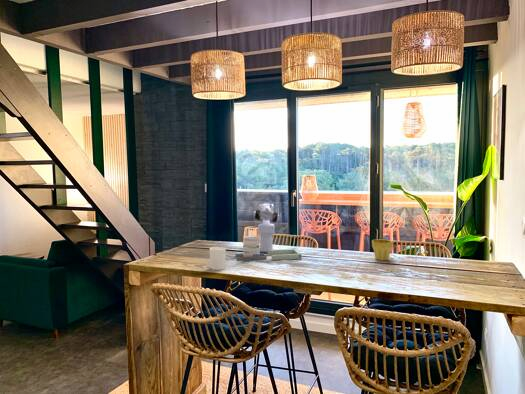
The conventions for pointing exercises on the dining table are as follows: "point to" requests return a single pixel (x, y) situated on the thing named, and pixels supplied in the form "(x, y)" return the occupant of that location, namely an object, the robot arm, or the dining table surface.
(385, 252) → the plant pot
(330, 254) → the dining table surface
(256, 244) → the ink box
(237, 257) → the printer bay
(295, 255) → the tray
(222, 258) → the white cup
